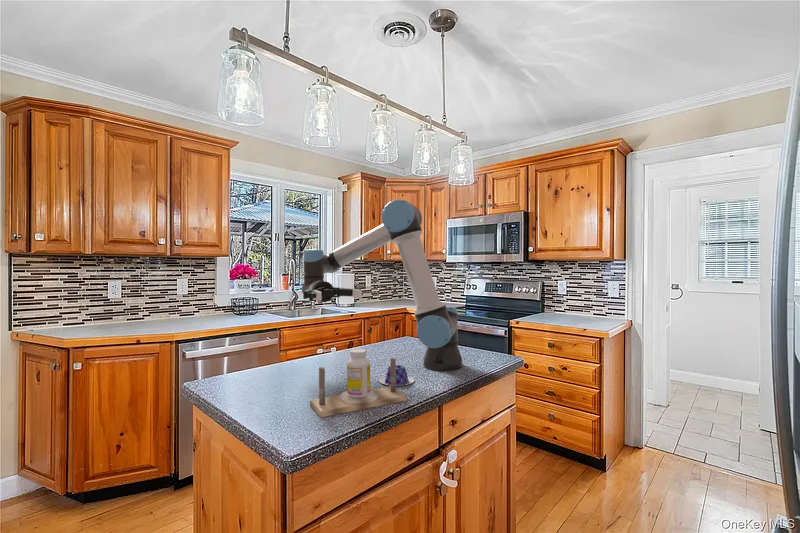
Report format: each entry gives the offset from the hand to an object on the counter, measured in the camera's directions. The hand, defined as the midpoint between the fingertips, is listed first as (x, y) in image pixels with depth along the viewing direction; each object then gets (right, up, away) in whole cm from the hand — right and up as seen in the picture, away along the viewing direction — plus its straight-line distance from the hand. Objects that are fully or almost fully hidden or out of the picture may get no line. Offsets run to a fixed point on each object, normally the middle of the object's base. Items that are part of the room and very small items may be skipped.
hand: (341, 295), depth 127 cm
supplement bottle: (+7, -28, -13) cm, 32 cm away
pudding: (+18, -30, +8) cm, 36 cm away
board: (+7, -30, -13) cm, 33 cm away
